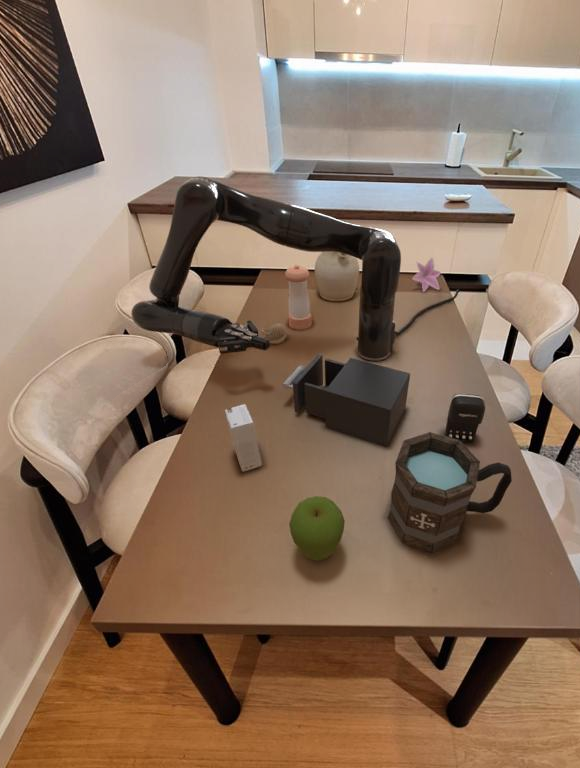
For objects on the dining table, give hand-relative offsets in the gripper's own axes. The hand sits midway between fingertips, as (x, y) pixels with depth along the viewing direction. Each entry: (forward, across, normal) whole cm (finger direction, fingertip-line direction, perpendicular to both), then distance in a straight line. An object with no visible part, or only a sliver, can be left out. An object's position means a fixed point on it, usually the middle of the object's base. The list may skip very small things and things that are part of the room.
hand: (268, 345), depth 92 cm
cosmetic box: (+8, -22, +13) cm, 27 cm away
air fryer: (+25, 0, +13) cm, 28 cm away
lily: (+19, +77, +13) cm, 80 cm away
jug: (-8, +57, +13) cm, 59 cm away
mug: (+47, -19, +13) cm, 53 cm away
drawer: (+14, 0, +12) cm, 19 cm away
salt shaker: (-10, +32, +13) cm, 36 cm away
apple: (+30, -34, +13) cm, 47 cm away
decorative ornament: (-12, +20, +13) cm, 27 cm away
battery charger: (+46, +2, +13) cm, 48 cm away
